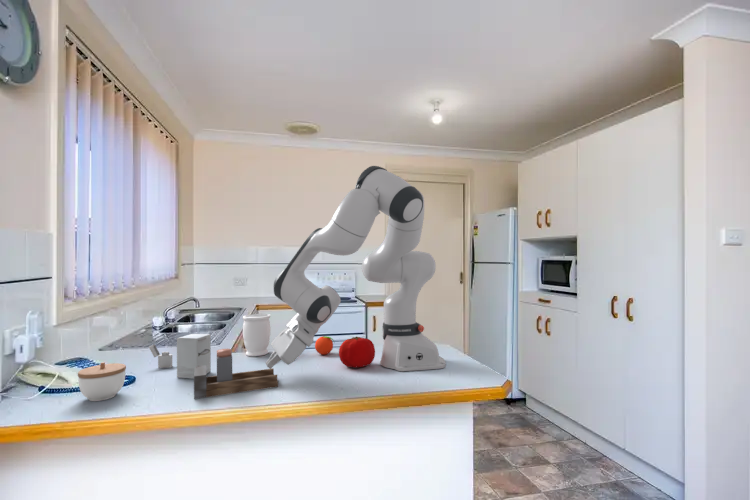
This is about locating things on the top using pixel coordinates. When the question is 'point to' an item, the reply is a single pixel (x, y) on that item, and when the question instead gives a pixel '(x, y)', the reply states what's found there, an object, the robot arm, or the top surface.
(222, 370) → the dome-capped grey post
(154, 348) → the lighter
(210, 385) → the base
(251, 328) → the jar
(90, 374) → the lidded jar
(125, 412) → the top surface
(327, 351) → the clementine
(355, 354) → the tomato
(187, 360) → the supplement box
